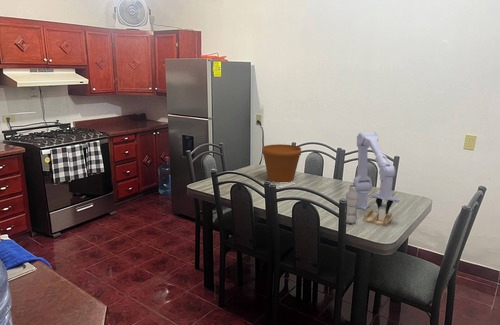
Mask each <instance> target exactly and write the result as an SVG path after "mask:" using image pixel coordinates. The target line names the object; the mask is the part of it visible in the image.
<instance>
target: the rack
mask: <svg viewBox="0 0 500 325" xmlns="http://www.w3.org/2000/svg"><path fill="white" fill-rule="evenodd" d="M392 215H393V214H392V212H388V216H387V217H386V218H385V219H384V221H381V220H378V217H379V212H378V213H377V212H374V209H373V208H371V209H369V211H368V212H366V214H364V218H363V219H362V221H363V222H365V223H369V224H370V223H371V224H374V225H379V226H383V227H387V226H388V225H389V224H390V222H391V221H392V219H393V216H392Z"/></svg>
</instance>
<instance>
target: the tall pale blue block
mask: <svg viewBox="0 0 500 325" xmlns="http://www.w3.org/2000/svg"><path fill="white" fill-rule="evenodd" d="M386 208H387V203H383V202H382V205H381V206H380V207H379V209H378V213H379V217H378V220H381V221H384V219H385V218H386V217H387V216H388V214H389V213H388V214H386Z"/></svg>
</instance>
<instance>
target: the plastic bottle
mask: <svg viewBox="0 0 500 325" xmlns="http://www.w3.org/2000/svg"><path fill="white" fill-rule="evenodd" d="M356 190H357V186H355V185H353V184H350V185H349V188H348V191H347V192H346V194H345V200H347V202H348V204H347V222H346V223H347V224H355V223H356V222H357V220H358V215H357V210H358V208H357V202H358V198H359V195H358V193H357V192H356Z"/></svg>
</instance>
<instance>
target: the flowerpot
mask: <svg viewBox="0 0 500 325" xmlns="http://www.w3.org/2000/svg"><path fill="white" fill-rule="evenodd" d="M261 148H262V151H261V152H262V155H263V160H264V164H265V165H264V166H265V169H266V174H267V179H268V181H269V180H271V181H270V182H272V181H275V182H274V183H276V182H288V183H291V181H292V182H293V181H294V179H295V174H296V172H297V167H298V164H299V160H300V156H302V147H300V146H298V145H293V144H292V145H291V144H279V143H278V144H268V145H264V146H262V147H261Z"/></svg>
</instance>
